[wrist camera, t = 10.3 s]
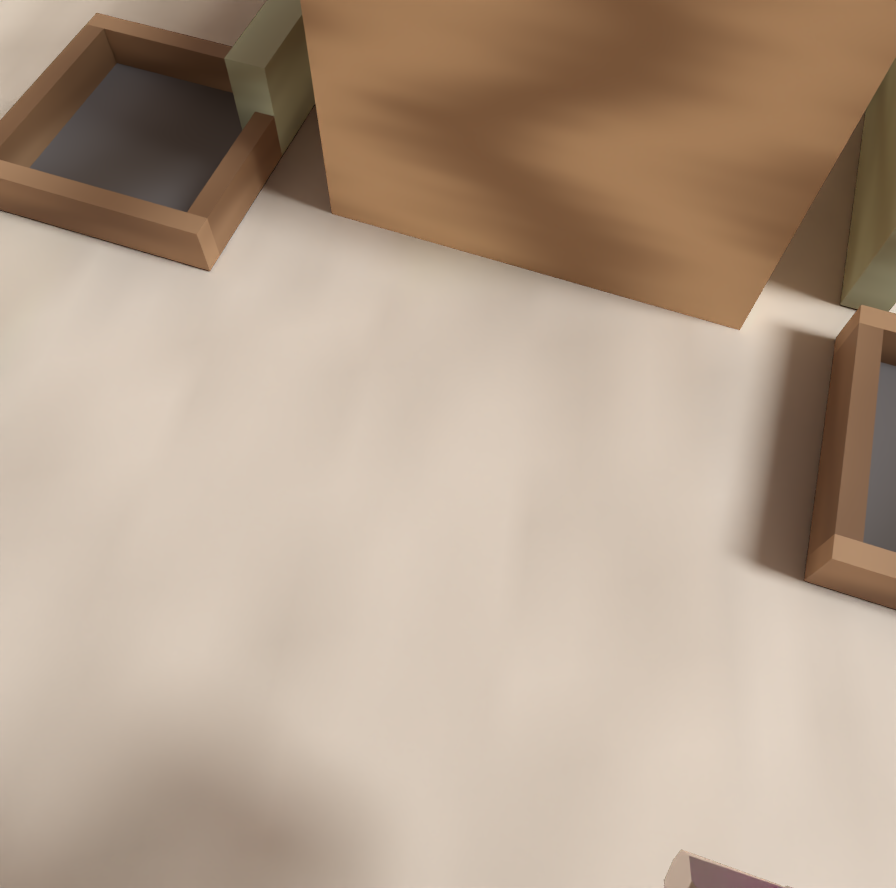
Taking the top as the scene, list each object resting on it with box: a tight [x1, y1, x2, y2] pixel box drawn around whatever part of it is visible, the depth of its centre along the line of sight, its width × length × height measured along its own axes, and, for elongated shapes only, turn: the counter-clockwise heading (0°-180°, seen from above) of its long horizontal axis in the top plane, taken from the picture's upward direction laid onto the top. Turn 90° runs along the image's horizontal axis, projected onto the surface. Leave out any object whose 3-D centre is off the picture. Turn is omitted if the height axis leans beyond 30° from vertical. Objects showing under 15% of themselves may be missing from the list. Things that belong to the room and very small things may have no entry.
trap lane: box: [0, 0, 896, 609], centre depth 19 cm, size 26×18×2 cm
